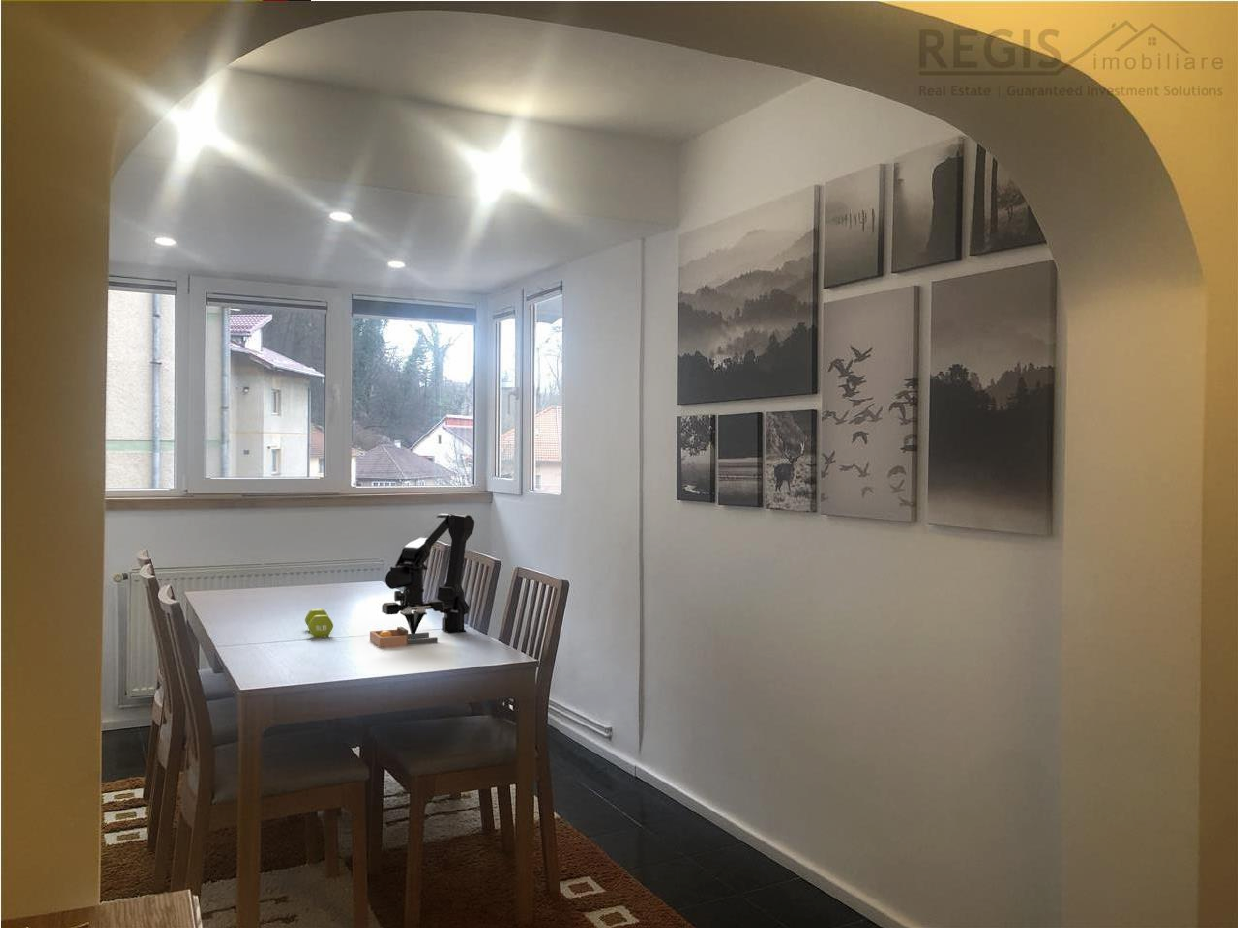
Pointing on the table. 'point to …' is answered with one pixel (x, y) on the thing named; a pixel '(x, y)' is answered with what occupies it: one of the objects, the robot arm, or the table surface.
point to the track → (422, 639)
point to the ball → (386, 634)
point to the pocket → (387, 639)
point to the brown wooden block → (402, 632)
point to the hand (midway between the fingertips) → (413, 633)
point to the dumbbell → (318, 623)
